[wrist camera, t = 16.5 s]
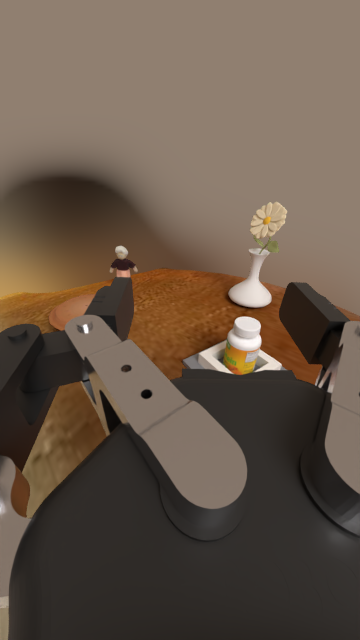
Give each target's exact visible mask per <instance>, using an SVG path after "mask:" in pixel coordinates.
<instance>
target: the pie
mask: <svg viewBox="0 0 360 640" xmlns="http://www.w3.org/2000/svg"><path fill="white" fill-rule="evenodd" d="M94 296H95V294H91V295H83V296H78V297H75V298H72V299H69V300H67V301H65V302H64V303H62V304H61V305H59V306H57V307H55V308H54V309H53V310H52V311H51V313H50V315H49V322H50V324H51V325H52V326H53V327H55V328H56V329H58V330H60V331H62V330H65V325H66V324H67V322H69V321H70V320H71V319H73V318H75V317H78V316H82V315H84V313H85V311H86V310H87V308H88V306H89V305H90V303H91V302H92V300H93V298H94Z"/></svg>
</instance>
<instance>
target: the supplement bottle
mask: <svg viewBox="0 0 360 640" xmlns="http://www.w3.org/2000/svg"><path fill="white" fill-rule="evenodd" d="M260 328H261V325H260V323H259V322H258V321H257V320H256V319H253V318H250V317H239V318H237V319H236V320H235V323H234V328H233V329H232V330H231V331H230V332H229V333H228V337H227V342H226V348H225V354H224V359H223V365H224V366H225V367H226V368H227V369H228V370H229V371H231V372H232V373H233V374H236V375H243V374H248V373H253V370H254V367H255V363H256V360H257V356H258V353H259V349H260V346H261V337H260V335H259V332H260Z"/></svg>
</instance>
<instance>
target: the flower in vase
mask: <svg viewBox="0 0 360 640" xmlns="http://www.w3.org/2000/svg"><path fill="white" fill-rule="evenodd" d="M286 213H287V210H285V208H284V207H283V206H281V204H278V202H275V203H274V204H272V203H268V205H267V206H263V207H262V208H261V210H257V211H256V215H254V216H253V219H252V222H251V226H252V227H251V229H250V232H251V233H252V235H254V239H255V241H256V242H257V243H258V244H260V245H261V246H262V247H263V243H262V242H261V241H260V240H259V238H260V239H262V238H263V237H266V238H267V237H270V238H269V241H268V243H267V244H266V245H265V246H264V247H263V248H262V249H257V248H253V249H249V253H250V256H251V270H250V275H249V277H248V278H247V279H246V280H245V281H243V282H241V283H239V284H237V285H235V286H234V287H232V288H231V289H230V291H229V293H228V294H229V297H230V299H231V300H232V301H233V302H235V303H237V304H239V305H242V306H246V307H253V308H258V307H264V306H266V305H268V304H269V303H270V302H271V294H270V293H269V291H268V290H267V289H266V288H265V287H264V286H263V285H262V284H261V283H260V282H259V279H258V276H259V271H260V268H261V265H262V262H263V260H264V259H265V258H266V256H267V255H269V253H270V252H279V248H278V243H277V241H271V242H270V240H271V236H272V235H274V234H275V231H278V230H279V229H280V227H281V226H282V225H283V224H284V223H285V221H284V219H285V218H286ZM267 245H268V251H267V250H264V248H265V247H266V246H267Z"/></svg>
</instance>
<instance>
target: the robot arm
mask: <svg viewBox="0 0 360 640" xmlns="http://www.w3.org/2000/svg"><path fill="white" fill-rule="evenodd" d="M133 314H134V302H133V290H132V280H131V277H115V278H114V280H113V282H112V284H111V286H104V287H103V288H101V289H100V290H98V291H97V293H96V294H95V296H94V298H93V300H92V302H91V303H90V305H89V306H88V308H87V310H86V311H85V313H84V315H82V316H78V317H75V318H73V319H71V320H70V321H69V322H67V324H66V325H65V330H62V331H57V332H51V333H46V334H42V333H41V330H40V328H39V327H38V326H36V325H33V324H21V325H16V326H13V327H10V328H8V329H5V330H4V331H2V332H1V333H0V608H5V607H9V634H8V640H360V322H358V321H350V320H349V319H348V318H347V317H346V316H345V315H344V314H343V313H341V312H340V311H339V310H338V309H336V307H335V306H334V305H333V304H331V302H329V301H328V300H327V299H326V298H325V297H323V296H321V295H320V294H318V293H317V292H316V291H315V290H313V288H312V287H311V286H309V285H308V284H307V283H297V282H296V283H295V282H291V283H289V284H288V286H287V288H286V291H285V294H284V297H283V300H282V303H281V306H280V310H279V317H280V320H281V322H282V324H283V325H284V327H285V328H286V330H287V331H288V333H289V334H290V336H291V337H292V339H293V340H294V342H295V343H296V345H297V346H298V348H299V350H300V351H301V353H302V354H303V356H304V357H305V359H306V360H307V362H308V363H309V364H322V365H323V366H322V368H321V369H320V371H319V374H318V377H317V380H316V383H315V385H313V384H311V383H308V382H305V381H302V380H298V379H296V377H295V375H294V373H293V372H292V370H262V371H257V372H253V373H248V374H243V375H236V374H231V373H226V372H221V371H216V370H212V369H182V377H180V378H176V379H173V380H170V381H169V380H168V379H167V377H166V376H165V375H164V374H163V373H162V372H161V371H160V370H159V369H158V368H157V367H156V366H155V365H154V364H153V363H152V361H151V360H150V359H149V358H148V357H147V356H146V355H145V354H144V353H143V352H142V351H141V350H140V349H139V348H138V347H137V345H136V344H135V343H134V342H133V341H132V340H130V339H127V337H128V334H129V330H130V326H131V322H132V319H133ZM78 381H80V382H81V384H82V386H83V388H84V390H85V392H86V393H87V395H88V397H89V399H90V401H91V402H92V404H93V406H94V408H95V410H96V412H97V413H98V416H99V418H100V420H101V423H102V426H103V428H104V430H105V432H106V434H107V437H106V438H105V439H104V440H103V441H102V442H101V443H100V444H99V445H98V446H97V447H96V448H95V449H94V450H93V451H92V452H91V453H90V454H89V455H88V456H87V457H86V458H85V459H84V460H83V461H82V462H81V463H80V464H79V465H78V466H77V467H76V468H75V469H74V470H73V471H72V472H71V473H70V474H69V475H68V476H67V477H66V478H65V479H64V480H63V481H62V482H61V483H60V484H59V485H58V486H57V487H56V488H55V489H54V490H53V491H52V492H51V493H50V494H49V495H48V496H47V498H46V499H45V500H44V501H43V502H42V504H41V505H40V506H39V508H38V509H37V511H36V512H35V514H34V515H33V517H32V518H27V515H26V510H27V504H28V500H29V496H30V486H29V483H28V481H27V480H26V478H25V477H24V476H23V474H22V470H23V468H24V466H25V463H26V461H27V459H28V456H29V454H30V452H31V450H32V447H33V445H34V443H35V440H36V438H37V436H38V433H39V431H40V429H41V427H42V424H43V422H44V420H45V417H46V415H47V413H48V410H49V408H50V406H51V404H52V401H53V399H54V397H55V394H56V392H57V390H58V387H59V386H62V385H66V384H70V383H74V382H78Z"/></svg>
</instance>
